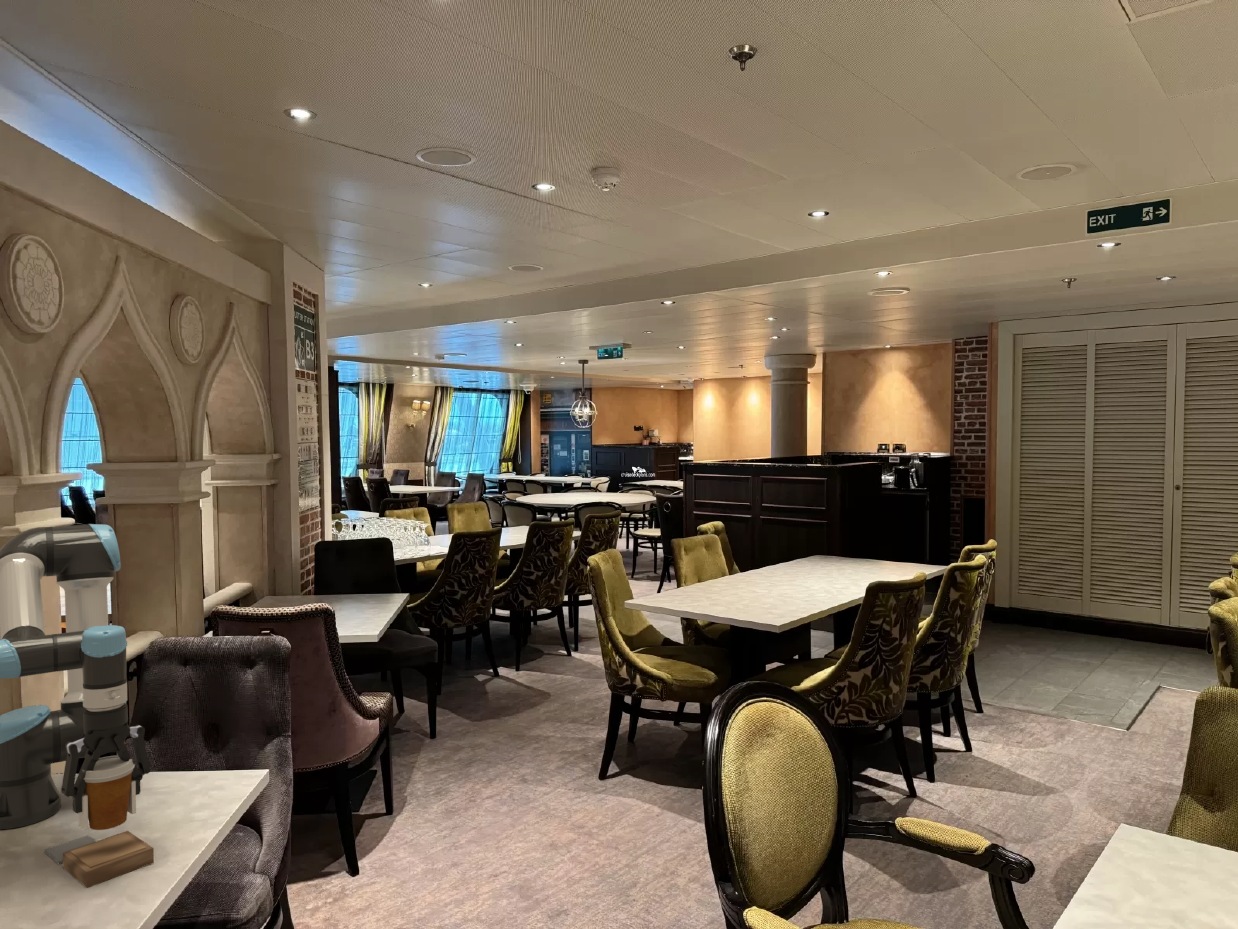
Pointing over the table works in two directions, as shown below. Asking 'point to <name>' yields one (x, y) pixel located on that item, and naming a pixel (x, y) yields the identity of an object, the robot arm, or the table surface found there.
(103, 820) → the disposable coffee cup
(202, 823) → the table surface
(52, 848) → the slate coaster
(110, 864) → the walnut base
